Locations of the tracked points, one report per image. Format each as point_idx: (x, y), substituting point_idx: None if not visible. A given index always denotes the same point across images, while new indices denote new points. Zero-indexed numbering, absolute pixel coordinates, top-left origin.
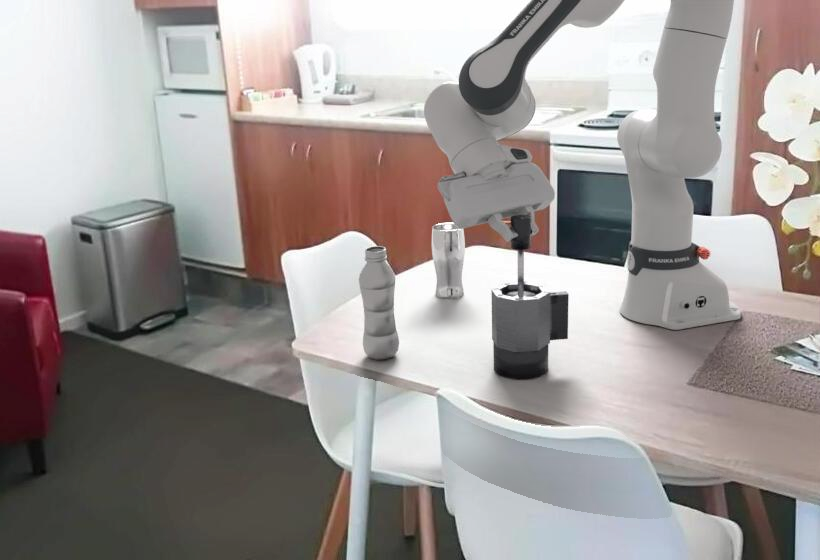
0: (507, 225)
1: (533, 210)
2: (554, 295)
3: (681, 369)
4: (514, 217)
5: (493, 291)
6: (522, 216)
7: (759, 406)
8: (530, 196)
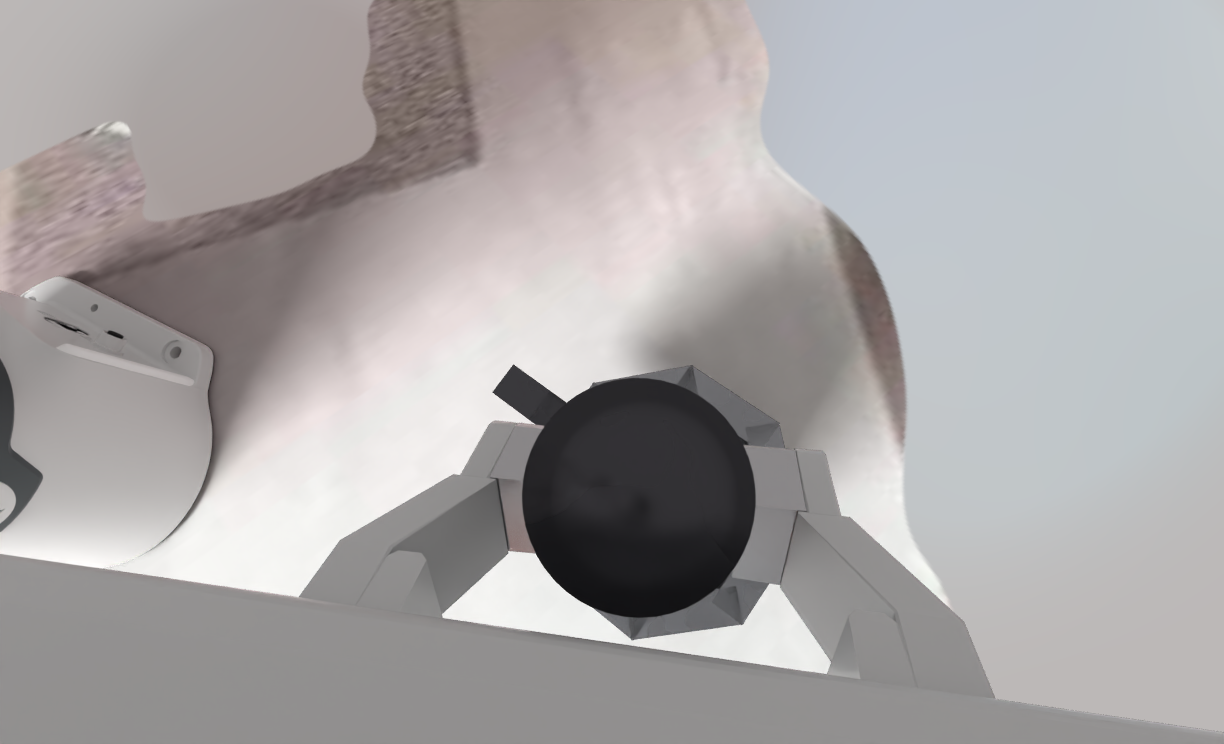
0: (817, 531)
1: (341, 548)
2: (558, 398)
3: (416, 212)
4: (694, 541)
5: (763, 590)
6: (598, 496)
7: (482, 25)
8: (162, 672)
